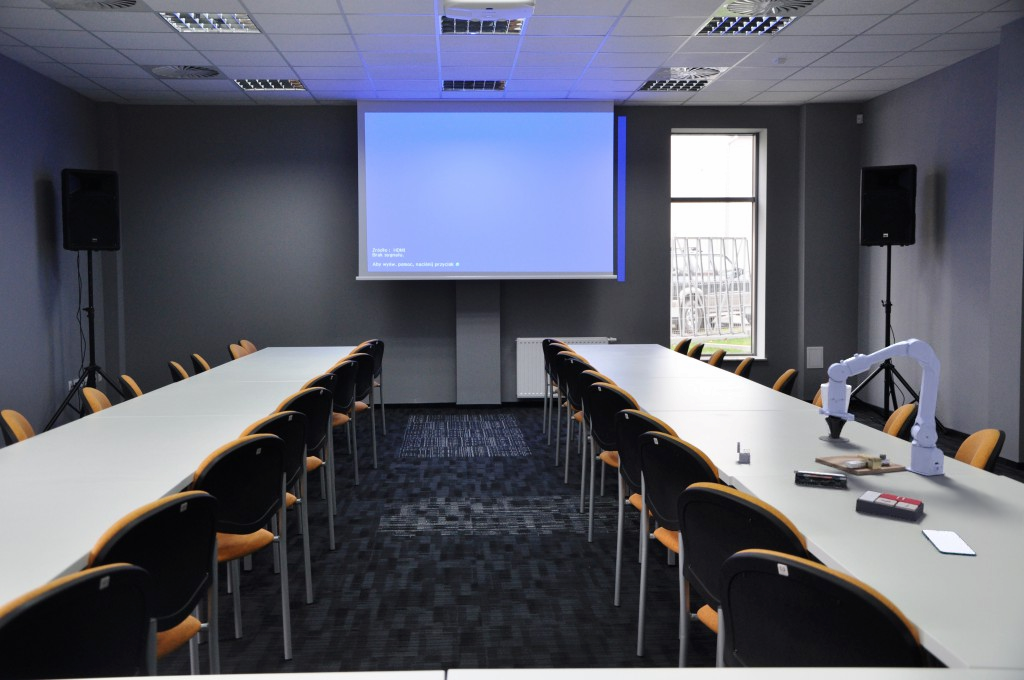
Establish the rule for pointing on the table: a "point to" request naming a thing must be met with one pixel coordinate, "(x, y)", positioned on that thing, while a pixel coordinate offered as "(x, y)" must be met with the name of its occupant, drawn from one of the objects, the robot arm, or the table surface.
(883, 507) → the dark grey box
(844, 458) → the base plate
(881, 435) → the table surface
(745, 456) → the architectural model
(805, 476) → the black flat case
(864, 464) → the grey link
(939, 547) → the smartphone
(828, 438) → the cup
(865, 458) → the wooden block
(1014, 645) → the table surface
